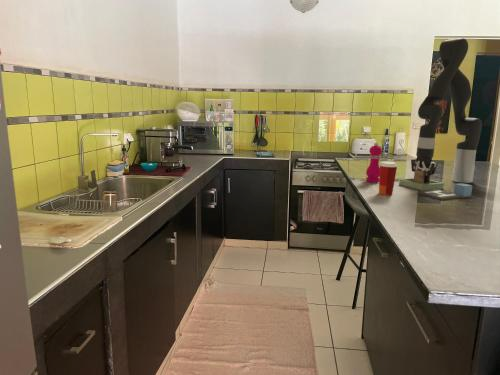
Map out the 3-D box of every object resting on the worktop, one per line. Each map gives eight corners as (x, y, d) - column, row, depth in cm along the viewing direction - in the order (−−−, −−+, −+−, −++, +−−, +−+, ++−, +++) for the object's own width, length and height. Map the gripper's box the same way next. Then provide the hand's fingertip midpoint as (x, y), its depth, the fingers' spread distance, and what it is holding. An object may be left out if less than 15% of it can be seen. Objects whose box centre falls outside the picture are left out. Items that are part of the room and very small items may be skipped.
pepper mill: (380, 183, 195) (384, 143, 191) (365, 182, 197) (369, 142, 192) (379, 180, 202) (383, 142, 198) (364, 179, 204) (368, 141, 199)
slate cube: (460, 193, 177) (462, 183, 176) (470, 196, 173) (472, 185, 172) (453, 194, 175) (454, 183, 174) (463, 197, 171) (464, 186, 170)
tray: (419, 183, 198) (420, 177, 197) (443, 189, 186) (443, 183, 185) (398, 184, 192) (399, 179, 192) (421, 191, 180) (422, 184, 179)
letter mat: (437, 191, 180) (438, 189, 180) (463, 198, 169) (463, 195, 168) (417, 193, 175) (417, 191, 175) (441, 200, 163) (442, 198, 163)
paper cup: (394, 192, 175) (397, 162, 172) (394, 196, 168) (398, 164, 165) (376, 191, 177) (379, 160, 174) (375, 194, 170) (378, 163, 167)
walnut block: (420, 181, 192) (422, 169, 191) (429, 183, 187) (430, 171, 186) (413, 182, 190) (414, 169, 188) (421, 184, 185) (423, 171, 184)
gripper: (444, 148, 180) (439, 184, 184) (419, 145, 193) (415, 178, 196) (432, 149, 177) (427, 185, 181) (408, 145, 190) (404, 179, 193)
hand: (421, 181), depth 189 cm, fingers closed on walnut block, 5 cm apart
